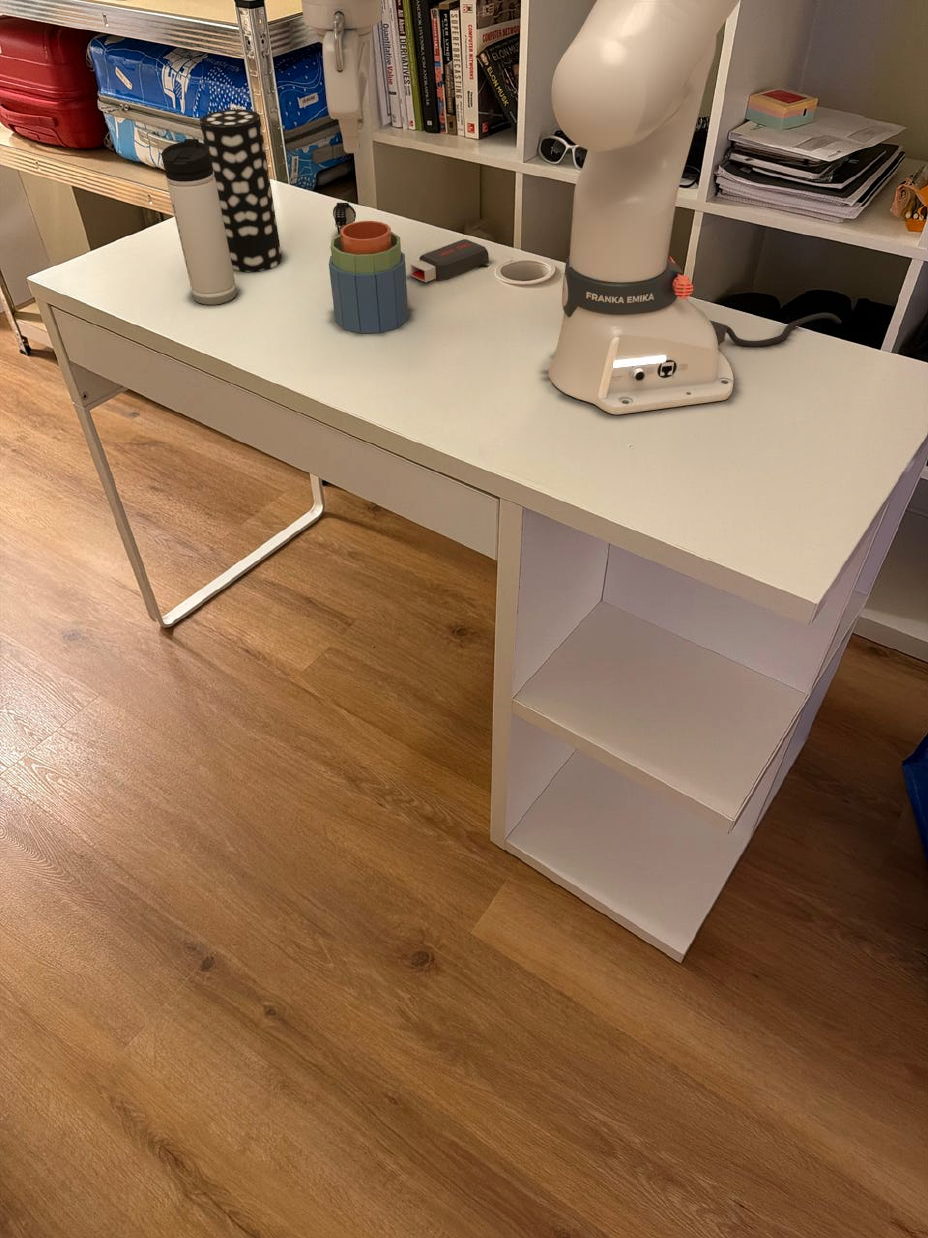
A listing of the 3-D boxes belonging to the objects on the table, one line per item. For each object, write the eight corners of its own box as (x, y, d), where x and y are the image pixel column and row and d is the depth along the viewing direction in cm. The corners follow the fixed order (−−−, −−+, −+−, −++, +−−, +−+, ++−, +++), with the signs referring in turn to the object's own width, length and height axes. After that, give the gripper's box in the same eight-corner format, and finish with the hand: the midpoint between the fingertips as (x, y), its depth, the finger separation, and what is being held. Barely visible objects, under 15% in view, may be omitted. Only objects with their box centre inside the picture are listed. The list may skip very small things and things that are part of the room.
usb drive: (488, 262, 138) (489, 243, 136) (430, 286, 133) (429, 267, 131) (465, 252, 141) (465, 234, 139) (407, 275, 135) (405, 257, 133)
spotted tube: (216, 263, 139) (186, 120, 125) (254, 245, 144) (230, 105, 130) (255, 276, 136) (229, 130, 122) (293, 257, 141) (272, 114, 127)
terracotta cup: (396, 289, 126) (391, 220, 120) (394, 310, 122) (389, 239, 115) (349, 290, 126) (342, 221, 120) (346, 311, 122) (338, 240, 115)
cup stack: (408, 299, 129) (404, 225, 122) (407, 332, 122) (402, 255, 115) (338, 301, 129) (330, 227, 122) (333, 333, 122) (324, 257, 115)
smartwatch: (361, 231, 148) (359, 200, 144) (346, 243, 144) (343, 211, 141) (339, 228, 149) (336, 196, 145) (323, 239, 146) (320, 207, 142)
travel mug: (243, 286, 133) (215, 138, 120) (230, 306, 129) (200, 154, 115) (201, 284, 134) (169, 137, 120) (187, 304, 129) (152, 153, 115)
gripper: (365, 22, 93) (376, 165, 103) (373, -15, 108) (383, 114, 118) (304, 24, 93) (321, 167, 103) (321, -13, 108) (334, 115, 118)
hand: (354, 138), depth 111 cm, fingers open, 8 cm apart
